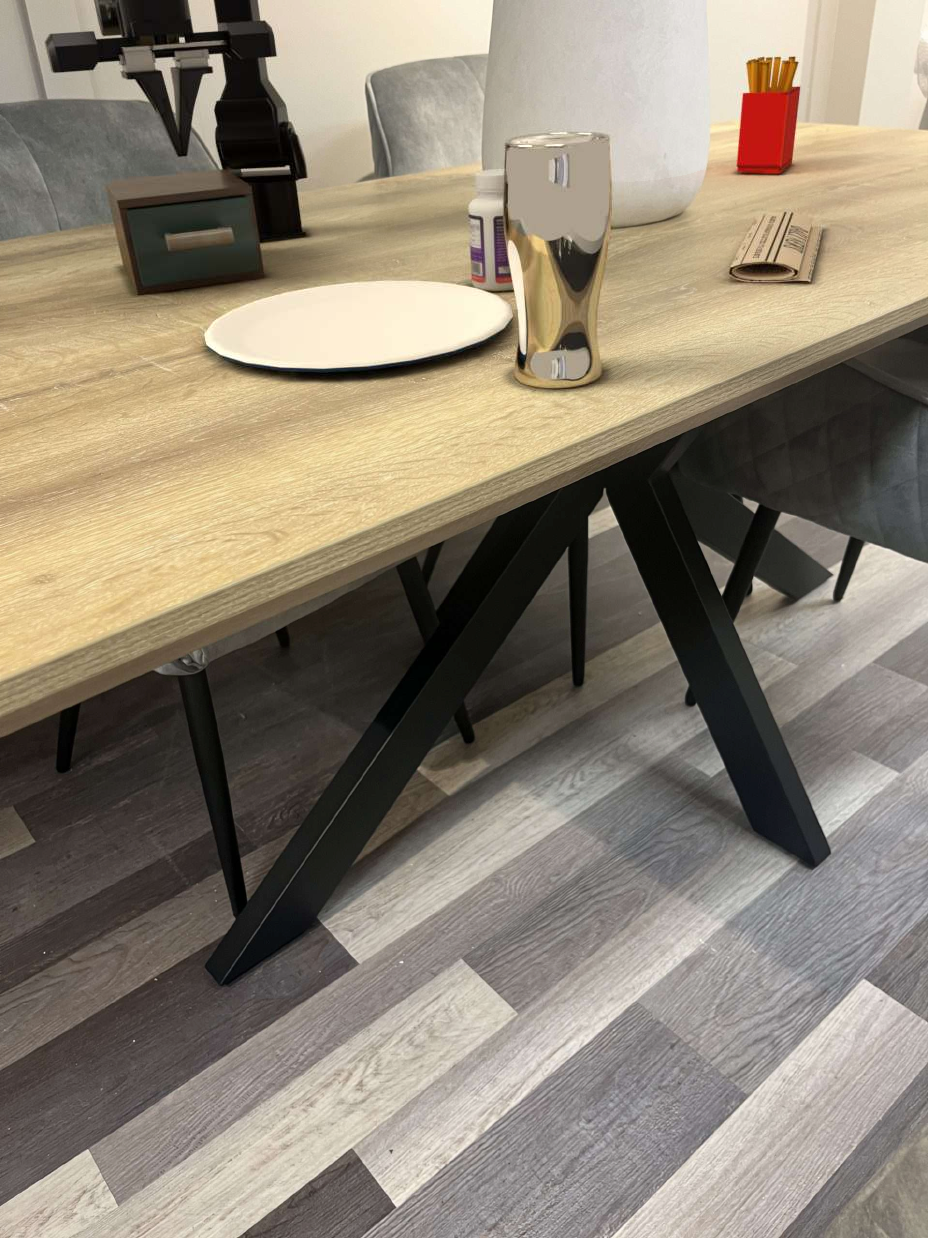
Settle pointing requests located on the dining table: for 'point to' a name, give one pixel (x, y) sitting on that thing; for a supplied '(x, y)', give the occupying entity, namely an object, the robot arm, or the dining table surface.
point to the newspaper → (777, 249)
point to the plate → (358, 326)
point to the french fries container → (768, 117)
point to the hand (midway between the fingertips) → (182, 155)
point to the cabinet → (168, 192)
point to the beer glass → (557, 251)
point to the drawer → (193, 240)
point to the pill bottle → (488, 234)
